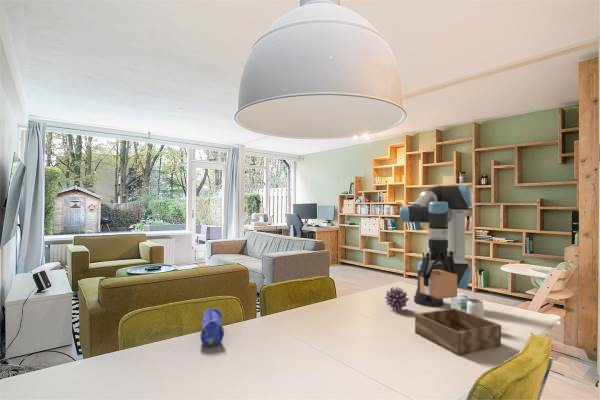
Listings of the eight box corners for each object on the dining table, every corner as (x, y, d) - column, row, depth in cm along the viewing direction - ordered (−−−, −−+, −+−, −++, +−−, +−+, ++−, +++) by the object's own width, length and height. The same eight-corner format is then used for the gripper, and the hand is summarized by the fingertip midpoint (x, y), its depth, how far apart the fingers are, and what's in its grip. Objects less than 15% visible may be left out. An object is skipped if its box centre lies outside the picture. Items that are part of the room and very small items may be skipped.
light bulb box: (475, 322, 149) (475, 299, 149) (460, 322, 149) (460, 298, 149) (464, 314, 160) (464, 292, 160) (450, 314, 160) (450, 292, 160)
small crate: (438, 290, 139) (438, 269, 140) (457, 296, 130) (457, 274, 130) (419, 292, 136) (419, 271, 136) (437, 299, 127) (437, 276, 127)
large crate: (454, 325, 144) (454, 307, 144) (500, 346, 124) (500, 325, 124) (415, 332, 136) (415, 313, 136) (458, 355, 116) (458, 333, 116)
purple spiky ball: (379, 308, 168) (379, 285, 168) (397, 305, 173) (397, 283, 173) (395, 315, 158) (395, 290, 158) (413, 311, 163) (413, 288, 163)
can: (466, 328, 141) (466, 301, 141) (466, 324, 147) (466, 297, 147) (483, 331, 138) (483, 303, 138) (483, 326, 144) (483, 299, 144)
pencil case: (224, 347, 122) (224, 321, 122) (200, 349, 119) (200, 324, 119) (221, 325, 143) (221, 304, 143) (201, 327, 140) (201, 305, 140)
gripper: (422, 240, 126) (422, 297, 126) (466, 238, 134) (466, 292, 133) (409, 238, 133) (409, 292, 133) (452, 237, 141) (452, 288, 140)
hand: (438, 292), depth 133 cm, fingers closed on small crate, 10 cm apart
